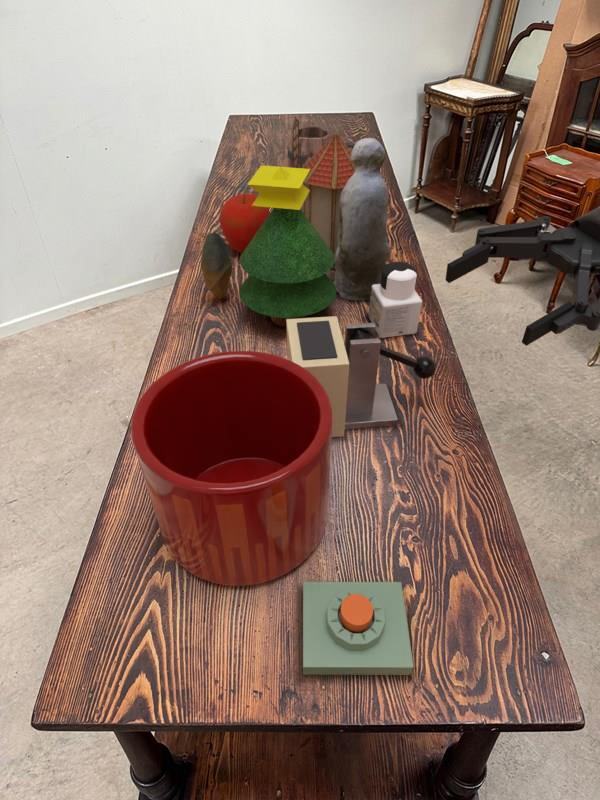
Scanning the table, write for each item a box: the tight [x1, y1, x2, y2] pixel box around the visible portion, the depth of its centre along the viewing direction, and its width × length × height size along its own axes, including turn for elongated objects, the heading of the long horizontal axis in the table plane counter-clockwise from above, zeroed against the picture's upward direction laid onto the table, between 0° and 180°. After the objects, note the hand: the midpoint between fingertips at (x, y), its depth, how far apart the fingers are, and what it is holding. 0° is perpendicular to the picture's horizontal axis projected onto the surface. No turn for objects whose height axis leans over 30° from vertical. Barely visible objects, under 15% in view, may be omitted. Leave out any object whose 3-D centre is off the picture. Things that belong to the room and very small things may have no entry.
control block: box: [302, 581, 414, 676], centre depth 62 cm, size 12×10×4 cm
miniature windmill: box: [292, 117, 355, 271], centre depth 121 cm, size 24×20×30 cm
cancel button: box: [340, 594, 373, 632], centre depth 60 cm, size 4×4×2 cm
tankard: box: [287, 125, 356, 214], centre depth 142 cm, size 24×17×20 cm
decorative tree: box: [239, 165, 337, 328], centre depth 101 cm, size 19×19×30 cm
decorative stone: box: [200, 232, 233, 301], centre depth 111 cm, size 10×6×15 cm, turn 173°
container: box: [368, 261, 423, 339], centre depth 104 cm, size 8×8×13 cm
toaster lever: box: [349, 330, 437, 380], centre depth 84 cm, size 15×4×4 cm, turn 96°
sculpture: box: [333, 137, 391, 302], centre depth 109 cm, size 11×14×30 cm
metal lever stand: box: [344, 322, 399, 430], centre depth 85 cm, size 12×9×16 cm
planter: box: [130, 350, 333, 587], centre depth 69 cm, size 23×23×20 cm
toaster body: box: [286, 315, 349, 438], centre depth 85 cm, size 8×12×15 cm, turn 6°
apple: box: [218, 192, 271, 254], centre depth 127 cm, size 12×12×14 cm
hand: (484, 303), depth 66 cm, fingers open, 13 cm apart
